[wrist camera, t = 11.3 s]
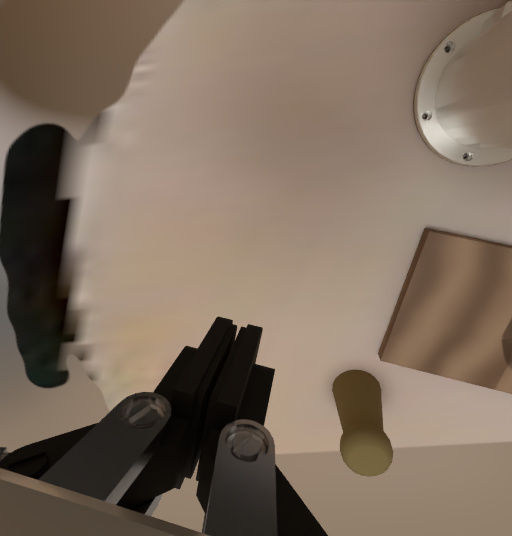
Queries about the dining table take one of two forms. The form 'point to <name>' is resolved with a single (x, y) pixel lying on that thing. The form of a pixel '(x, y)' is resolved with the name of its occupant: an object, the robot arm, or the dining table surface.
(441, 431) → the dining table surface
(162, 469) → the robot arm
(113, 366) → the dining table surface
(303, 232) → the dining table surface
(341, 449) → the cork
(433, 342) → the board
